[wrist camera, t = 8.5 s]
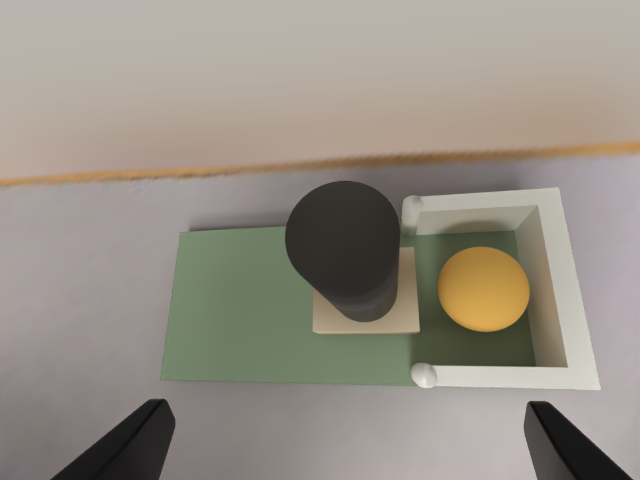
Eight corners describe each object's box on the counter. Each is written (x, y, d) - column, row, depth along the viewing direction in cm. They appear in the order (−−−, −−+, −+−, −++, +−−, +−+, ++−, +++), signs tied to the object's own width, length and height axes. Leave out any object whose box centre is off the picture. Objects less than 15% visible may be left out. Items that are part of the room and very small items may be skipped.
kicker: (416, 334, 19) (441, 304, 9) (321, 334, 20) (249, 307, 10) (411, 259, 20) (429, 161, 10) (322, 262, 21) (259, 175, 11)
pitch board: (565, 388, 18) (574, 389, 17) (170, 379, 22) (160, 380, 21) (534, 218, 21) (541, 211, 20) (188, 236, 25) (180, 231, 24)
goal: (562, 386, 17) (601, 392, 14) (410, 383, 19) (413, 388, 15) (531, 213, 20) (558, 185, 17) (400, 221, 21) (401, 195, 18)
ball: (527, 302, 14) (424, 309, 16) (540, 345, 17) (450, 346, 19) (517, 222, 16) (428, 237, 19) (530, 270, 19) (450, 279, 21)
